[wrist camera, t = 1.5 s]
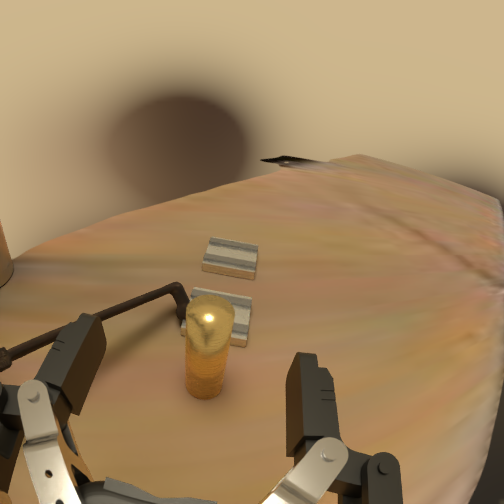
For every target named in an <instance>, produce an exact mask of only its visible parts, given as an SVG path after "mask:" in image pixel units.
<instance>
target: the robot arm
mask: <svg viewBox="0 0 504 504" xmlns="http://www.w3.org/2000/svg"><path fill="white" fill-rule="evenodd" d="M12 273H13V263H12V260H11V257H10V254H9V250H8V247H7V243H6V240H5V236H4V233H3V229H2V225H1V221H0V287H1V286H2V285H4V284H5V283H6V282H7V281H8V280H9V278H10V277H11V275H12ZM105 351H106V337H105V333H104V330H103V326H102V322H101V319H100V317H98V316H94V315H90V314H86V313H82V314H81V315H80V316H79V318H78V320H77V322H76V323H72V322H70V323H69V324H68V325H66V326H65V327H64V328H63V329H62V330H61V331H60V333H59V335H58V336H57V338H56V341H55V342H54V343H53V345H52V348H51V349H50V351H49V352H48V354H47V356H46V358H45V360H44V362H43V363H42V365H41V367H40V369H39V371H38V373H37V375H36V376H35V378H34V379H33V380H28V381H26V382H24V383H23V384H22V385H21V386H15V385H3V384H2V383H1V382H0V504H12V502H11V499H10V497H9V496H8V495H7V494H8V490H9V486H10V482H11V478H12V474H13V471H14V467H15V463H16V460H17V457H18V453H19V450H20V447H21V444H22V441H23V438H24V435H25V437H26V443H24V445H23V451H24V455H25V459H26V462H27V466H28V469H29V472H30V476H31V479H32V482H33V485H34V488H35V491H36V494H37V497H38V499H39V502H40V504H217V502H216V501H209V500H202V499H195V498H189V497H188V498H158V497H155V496H153V495H151V494H149V493H147V492H145V491H143V490H141V489H139V488H137V487H135V486H133V485H131V484H128V483H124V482H121V481H118V480H114V479H111V478H108V477H106V479H105V481H94V480H93V478H92V476H91V473H90V471H89V469H88V468H87V466H86V464H85V463H84V461H83V459H82V457H81V454H80V452H79V449H78V446H77V444H76V441H75V438H74V435H73V432H72V429H71V426H70V423H69V420H68V419H69V416H70V414H71V413H73V414H75V415H78V416H79V415H80V412H81V409H82V407H83V404H84V402H85V399H86V397H87V394H88V392H89V389H90V387H91V384H92V382H93V380H94V377H95V375H96V372H97V370H98V368H99V365H100V363H101V361H102V358H103V356H104V354H105ZM335 400H336V398H335V393H334V383H333V378H332V376H331V375H330V373H329V371H328V369H327V368H320V367H318V361H317V355H316V354H312V353H301V352H297V353H296V355H295V358H294V360H293V362H292V365H291V367H290V369H289V371H288V374H287V378H286V457H294V466H293V467H292V468H291V469H290V470H289V472H288V473H287V474H286V475H285V476H284V477H283V478H282V479H281V480H280V482H279V483H278V484H277V485H276V486H275V487H274V488H273V489H272V490H271V491H270V492H269V493H268V494H267V495H266V496H265V497H264V498H263V499H262V500H261V501H260V502H259V503H258V504H316V503H317V502H318V500H319V499H320V498H321V497H322V495H323V494H324V493H325V491H330V492H333V493H337V494H338V504H403V497H402V484H401V474H400V465H399V462H398V460H397V459H396V458H395V457H394V456H393V455H392V454H390V453H386V452H380V453H377V454H375V455H374V456H370V455H367V454H363V453H359V452H356V451H353V450H351V449H349V448H348V447H347V446H346V445H345V444H344V443H343V441H342V440H341V437H340V432H339V423H338V415H337V406H336V402H335Z"/></svg>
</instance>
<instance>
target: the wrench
mask: <svg viewBox="0 0 504 504" xmlns="http://www.w3.org/2000/svg"><path fill="white" fill-rule="evenodd" d="M169 293H170V294H171V295H172V296H173V298H174V300H175V302H176V304H177V309H176V314H177V317H178V318H179V319H180V320H181V321H183V320H186V308H187V305H188V304H189V302H190V300H189V299H188V296H187V294H186V292H185V290H184V288H183V286H182V284H181V283H179V282H173V283H171V284H168V285H166V286H164V287H162V288H159V289H156V290H154V291H151V292H149V293H146V294H144V295H141V296H138V297H136V298H133V299H131V300H128V301H126V302H123V303H121V304H118V305H115V306H113V307H110V308H108V309H105V310H103V311H100V312H98V313H95V314H93V315H94V316H98V317H100V319H101V321H104V320H106V319H108V318H111V317H113V316H116V315H118V314H120V313H123V312H125V311H128V310H130V309H133V308H135V307H137V306H140V305H142V304H144V303H147V302H149V301H152V300H154V299H157V298H159V297H161V296H164V295H166V294H169ZM76 322H77V321H75V322H73V323H76ZM65 326H66V325H65ZM65 326H62V327H60V328H57V329H55V330H52V331H50V332H48V333H45V334H43V335H40V336H38V337H36V338H34V339H31V340H29V341H27V342H24V343H22V344H20V345H17V346H15V347H13V348H11V349H9V350H6V349H5V347H3V348H0V372H2V371H4V370H6V369H8V368H9V367H10V366H11V365H12V361H14V360H16V359H19V358H21V357H23V356H25V355H27V354H29V353H31V352H33V351H35V350H37V349H39V348H42V347H44V346H46V345H48V344H50V343H52V342H55V341H56V338H57V336H58V335H59V333H60V331H61V330H62V329H63V328H64V327H65Z"/></svg>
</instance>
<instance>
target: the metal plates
mask: <svg viewBox="0 0 504 504" xmlns="http://www.w3.org/2000/svg"><path fill="white" fill-rule="evenodd" d="M257 251H258V245H256V244H250V243H245V242H239V241H234V240H228V239H223V238H217V237H211V238H210V241H209V245H208V248H207V251H206V253H205V255H204V259H203V262H202V271H207V272H212V273H217V274H223V275H228V276H234V277H239V278H245V279H250V280H253V279H254V274H255V268H256V259H257ZM201 295H216V296H220V297H222V298H224V299H226V300H227V301H229V302H230V303H231V305H232V306H233V308H234V310H235V318H234V323H233V329H232V334H231V339H230V345H235V346H240V347H245V345H246V341H247V334H248V328H249V318H250V309H251V303H252V297H246V296H241V295H235V294H229V293H224V292H219V291H213V290H208V289H203V288H198V287H194V289H193V290H192V293H191V298H190V301H191V300H192V299H194V298H196V297H198V296H201ZM181 335H183V336H186V320H183V323H182V326H181Z"/></svg>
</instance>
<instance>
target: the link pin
mask: <svg viewBox="0 0 504 504" xmlns="http://www.w3.org/2000/svg"><path fill="white" fill-rule="evenodd" d="M234 318H235V310H234V308H233V306H232V305H231V303H230V302H229V301H227V300H226V299H224V298H222V297H220V296H216V295H201V296H198V297H196V298H194V299H192V300H191V301H190V302H189V304H188V305H187V308H186V355H185V370H186V388H187V390H188V392H189V393H190V394H191V395H192V396H194V397H196V398H198V399H204V400H206V399H211V398H214V397H215V396H217V395H218V394H219V392H220V391H221V388H222V382H223V377H224V372H225V366H226V361H227V356H228V350H229V345H230V339H231V334H232V329H233V323H234Z"/></svg>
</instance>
